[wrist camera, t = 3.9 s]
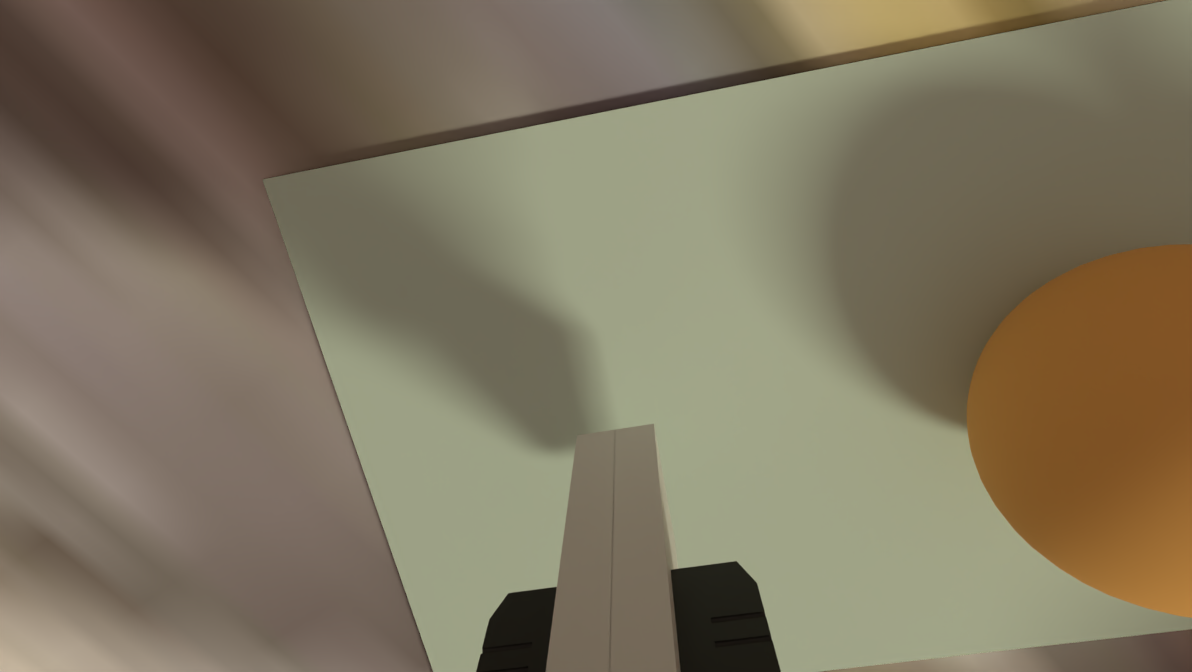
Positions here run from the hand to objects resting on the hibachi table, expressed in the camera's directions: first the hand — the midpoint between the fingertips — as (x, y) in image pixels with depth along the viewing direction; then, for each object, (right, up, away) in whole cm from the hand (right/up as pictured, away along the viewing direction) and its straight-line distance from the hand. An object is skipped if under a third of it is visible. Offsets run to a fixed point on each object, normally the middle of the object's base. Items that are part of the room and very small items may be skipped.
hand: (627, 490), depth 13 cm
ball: (+9, +2, -2) cm, 9 cm away
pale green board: (+10, +2, +1) cm, 10 cm away
